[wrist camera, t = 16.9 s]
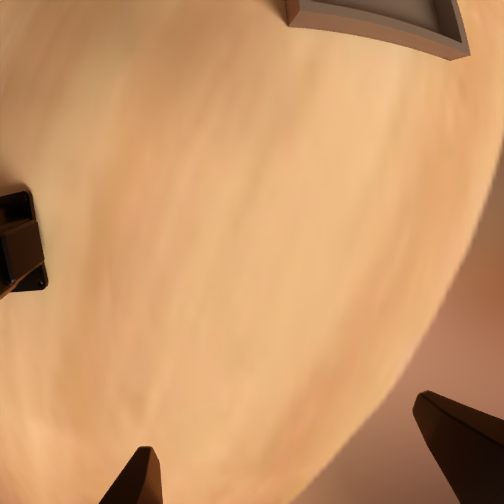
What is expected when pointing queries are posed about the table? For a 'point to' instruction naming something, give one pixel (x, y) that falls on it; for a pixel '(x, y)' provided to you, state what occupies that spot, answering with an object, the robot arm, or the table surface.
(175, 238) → the table surface
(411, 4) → the tray
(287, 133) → the table surface
